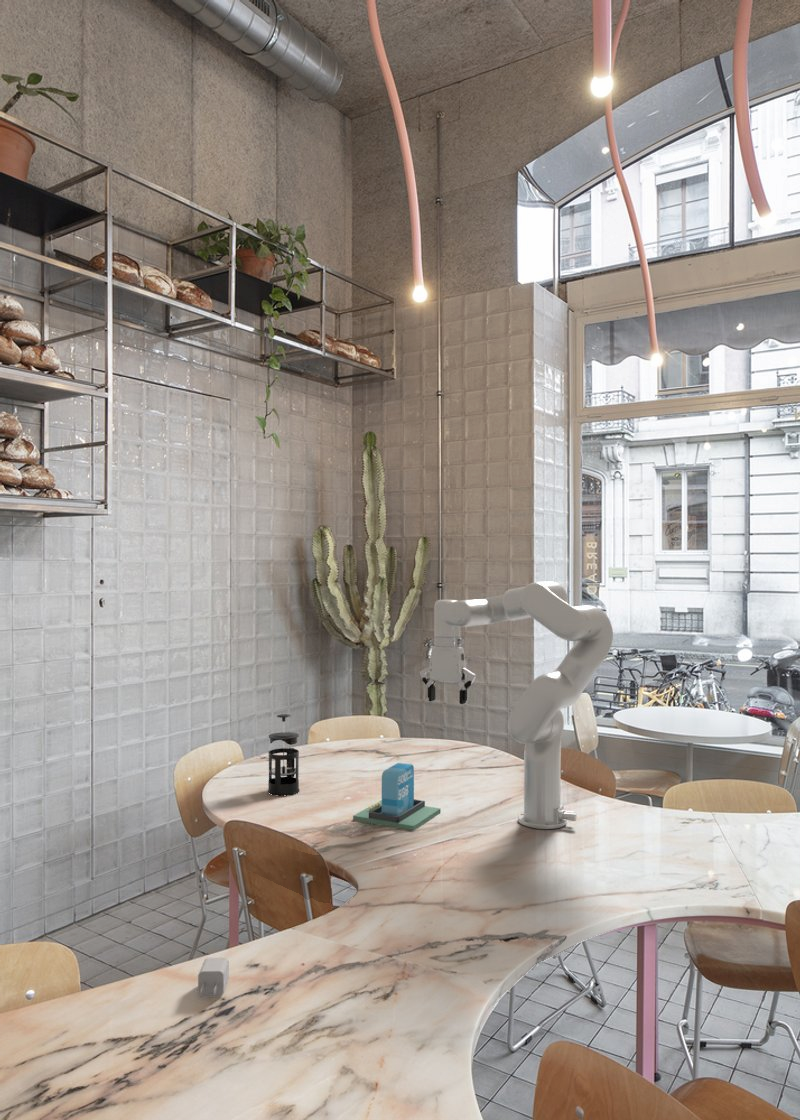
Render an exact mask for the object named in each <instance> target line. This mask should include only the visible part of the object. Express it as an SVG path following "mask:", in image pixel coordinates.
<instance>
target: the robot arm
mask: <svg viewBox="0 0 800 1120" xmlns="http://www.w3.org/2000/svg"><path fill="white" fill-rule="evenodd" d="M567 602H568V594H567V590H566V589H565V588H564V586H562V585H561V584H559V583H558V582H555V581H535V582H531V583H529V584H527V585H525V586H521V587H520V586H519V587H515V588H510V589H507V590H506V591H505V592H504V594H501V595H497V596H491V597H485V598H477V599H461V600H456V599H438V600H436V601H435V603H434V611H433V614H434V615H433V618H434V620H433V622H434V623H433V624H434V627H433V629H434V631H433V633H434V634H433V635H434V638H433V641H434V642H433V645H434V646H432V648H431V652H430V657H429V665H428V666H427V667H425V668H424V669H421V670H420V671H419V675H420V677H421V681H422V682H423V683H424V684H425V687H426V688H427V698H428V702H434V701H435V700H436V686H435V684H437V682H438V683H449V684H450V683H451V684H457V685H458V686H459V688H460V689H459V704H460V705H463V704H465V703H467V700H468V689H469V688H470V687H471V686H472V685H473V683H474V681H475V680H476V677H477V674H476V673H474V672H472V671H470V670H469V669H467V664H466V661H467V660H466V657H465V649H464V647H461V646H462V645H465V643H466V640H465V639H463V638H462V636H461V628H468V627H469V628H470V627H476V626H485V625H491V624H496V623H502V622H508V621H512V622H514V621H519V620H526V619H530V618H531V619H533V620H535V621H536V622H538V623H539V624H540V625H542V626H543V627H544V628H546V629H547V630H548V631H550V632H551V633H552V634H553V635H555V636H557V637H558V638H560V639H561V640H564V641H567V642H576V641H577V642H576V643H575V644H574V645H573V646H572V647H571V649H569V651H568V652H567V654H565V656H564V658H563V659H562V661H561V662H560V664H559V665H558V666H557V667H556V669H554V670H553V671H550V672H547V673H543V674H541V675H539V676H537V677H536V678H534V679H533V681H532V682H531V683H529V685H528V686H527V688H526V690H524V692H523V694H522V695H521V697H519V700H518V701H517V703H516V704H515V706H514V708H513V709H512V710H511V712H510V714H509V716H508V721H507V729H508V733H509V735H510V736H511V738H512V740H514V741H515V742H518V743H520V744H522V745H523V744H524V751H523V752H524V753H523V754H524V755H523V812H520V813H519V814H518V816H517V821H518V822H519V823H520V824H521V825H522V826H524V827H528V828H532V829H537V830H538V829H539V830H555V829H559V828H563V827H565V826H566V825H567V821H571V822H576V821H577V813H575V811H572V810H566V809H565V806H564V805H565V804H562V803H561V800H562V799H561V785H562V784H561V781H562V780H561V761H562V759H561V757H562V754H561V753H562V752H561V751H562V740H563V739H562V738H563V734H564V733H563V732H564V726H565V723H564V722H565V719H564V715H563V713H562V710H563V709H566V708H569V707H571V706H574V704H576V702H578V700H579V698H580V697H581V695H582V694H583V692H584V691H585V689H586V687H587V686H588V684H590V682H591V681H592V679H593V677H594V676H595V674H596V673H597V672H598V670H599V669H600V667H601V665H602V664H603V663H604V661H605V659H607V656H608V655H609V652H610V650H611V648H612V644H613V641H614V632H613V631H614V630H613V626H612V622H611V621H610V618H609V616H608V615H607V614H606V612H604V611H603V610H602V609H601V608H600V607H597V606H593V605H578V606H572V605H571V604H569V603H567ZM428 673H429V677H428V676H427V674H428ZM467 677H468V680H467V681H466V679H467ZM564 825H565V826H564Z"/></svg>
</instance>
